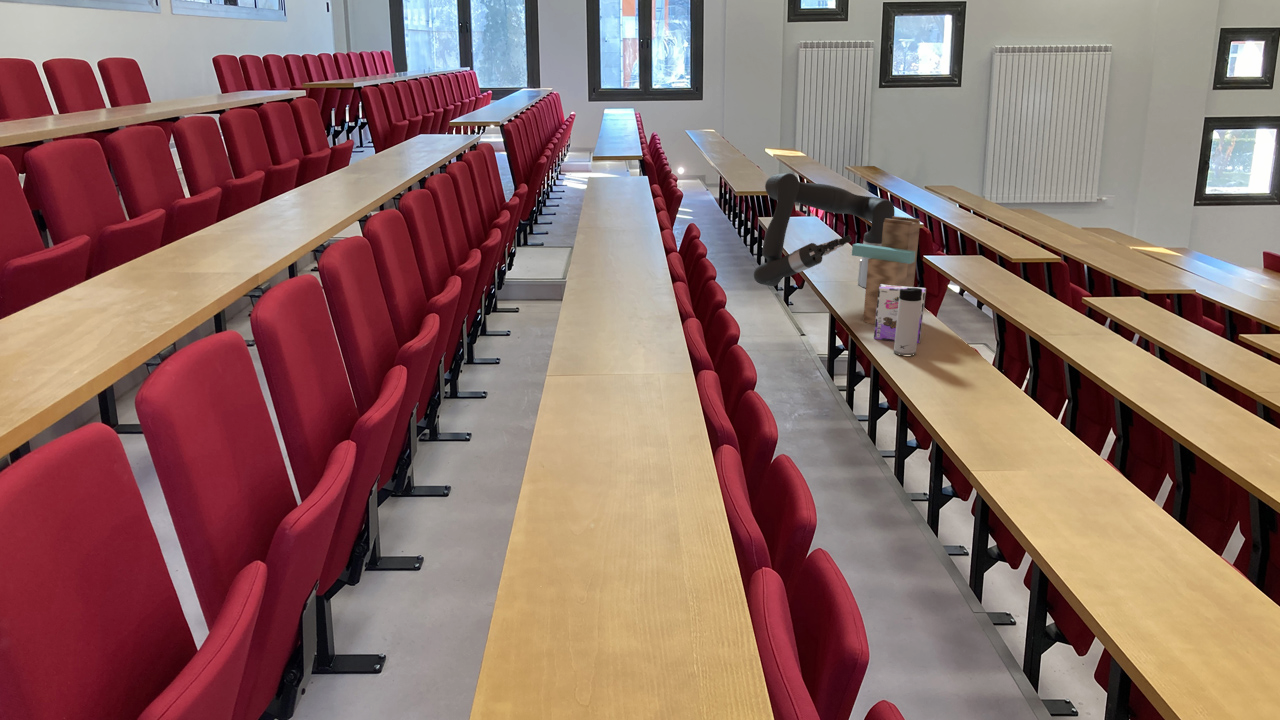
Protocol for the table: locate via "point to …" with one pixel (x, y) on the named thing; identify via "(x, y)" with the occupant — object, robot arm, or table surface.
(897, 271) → the wooden block
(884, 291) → the candy box
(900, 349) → the travel mug
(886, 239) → the tall stand
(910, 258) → the light blue rectangular bar
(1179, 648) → the table surface
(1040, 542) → the table surface
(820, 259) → the robot arm
